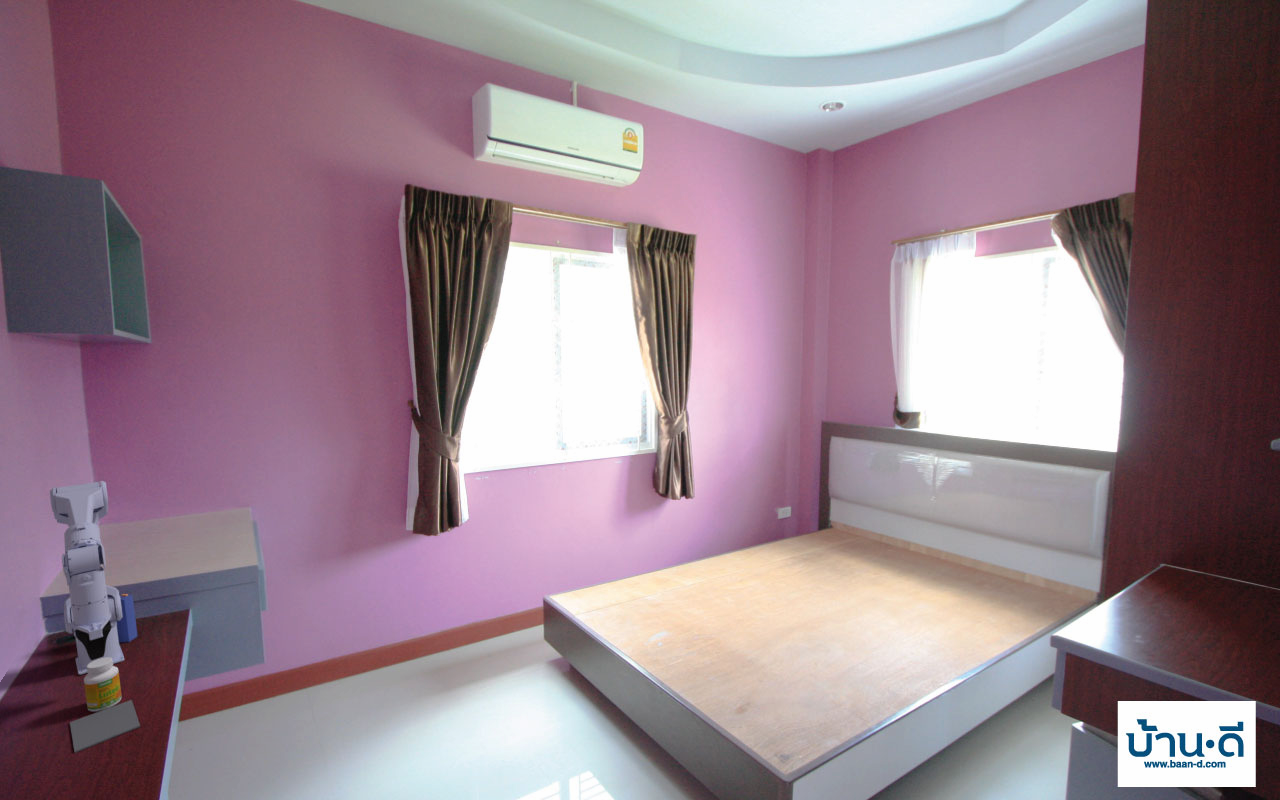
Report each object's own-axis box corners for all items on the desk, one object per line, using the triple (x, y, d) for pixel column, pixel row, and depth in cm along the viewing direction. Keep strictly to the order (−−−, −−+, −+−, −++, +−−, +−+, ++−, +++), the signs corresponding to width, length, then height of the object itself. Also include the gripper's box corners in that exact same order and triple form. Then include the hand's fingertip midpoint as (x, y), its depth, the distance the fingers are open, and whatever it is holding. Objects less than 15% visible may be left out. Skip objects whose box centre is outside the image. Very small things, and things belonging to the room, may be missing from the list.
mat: (70, 723, 115) (69, 722, 115) (131, 701, 122) (131, 699, 122) (74, 752, 107) (74, 751, 107) (140, 726, 114) (140, 725, 114)
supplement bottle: (100, 714, 118) (95, 671, 117) (80, 710, 119) (74, 668, 118) (128, 697, 123) (123, 656, 122) (109, 694, 124) (103, 653, 123)
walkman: (137, 636, 148) (132, 593, 146) (129, 642, 145) (123, 598, 144) (105, 637, 147) (99, 594, 146) (96, 643, 144) (90, 599, 143)
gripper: (61, 595, 125) (69, 652, 127) (65, 618, 115) (74, 679, 117) (104, 585, 130) (111, 639, 132) (112, 605, 121) (119, 664, 122)
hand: (97, 657), depth 125 cm, fingers closed
